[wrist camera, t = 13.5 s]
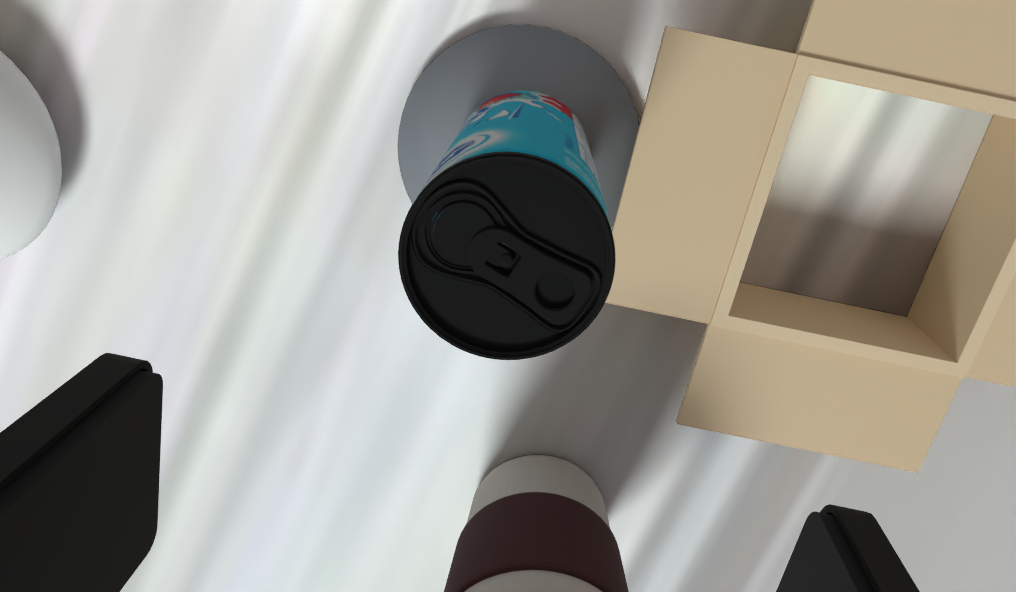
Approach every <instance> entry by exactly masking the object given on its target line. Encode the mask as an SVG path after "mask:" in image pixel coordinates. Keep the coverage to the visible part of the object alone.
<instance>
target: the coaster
mask: <svg viewBox="0 0 1016 592" xmlns="http://www.w3.org/2000/svg"><path fill="white" fill-rule="evenodd" d="M520 90H526V91H534V92H540V93H542V94H545V95H548V96H551V97H553V98H555V99H556V100H558V101H559V102H561V103H562V104H564V105H565V106H566V107H567V108H568V109H569V110H570V111H571V112H572V113H573V114H574V115H575V116H576V117H577V119H578V120H579V122H580V124H581V125H582V127H583V129H584V131H585V134H586V137H587V140H588V143H589V148H590V152H591V155H592V159H593V162H594V166H595V169H596V173H597V176H598V180H599V183H600V187H601V191H602V195H603V198H604V202H605V206H606V210H607V214H608V218H609V222H610V227H612V226H613V224H614V221H615V217H616V213H617V209H618V205H619V201H620V198H621V194H622V190H623V186H624V182H625V179H626V175H627V171H628V167H629V163H630V159H631V156H632V152H633V148H634V144H635V140H636V136H637V133H638V129H639V121H638V116H637V113H636V110H635V107H634V104H633V101H632V99H631V97H630V95H629V93H628V91H627V89H626V87H625V85H624V83H623V82H622V80H621V79H620V78H619V76H618V75H617V73H616V72H615V70H614V69H613V68H612V67H611V66H610V65H609V64H608V63H607V62H606V60H605V59H604V58H603V57H602V56H600V55H599V54H598V53H597V52H596V51H594V50H593V49H592V48H591V47H589V46H588V45H586V44H585V43H583V42H581V41H580V40H578V39H577V38H574V37H572V36H570V35H568V34H565V33H563V32H561V31H558V30H554V29H551V28H547V27H543V26H536V25H529V24H511V25H504V26H496V27H492V28H489V29H485V30H482V31H479V32H476V33H474V34H472V35H469V36H467V37H465V38H463V39H461V40H460V41H458V42H456V43H455V44H453V45H451V46H450V47H448V48H447V49H446V50H445V51H443V52H442V53H441V54H440V55H439V56H437V57H436V58H435V59H434V60H433V61H432V62H431V64H430V65H429V66H428V67H427V68H426V69H425V70H424V71H423V73H422V74H421V76H420V77H419V79H418V80H417V81H416V83H415V85H414V87H413V89H412V91H411V92H410V94H409V96H408V99H407V101H406V104H405V107H404V110H403V113H402V117H401V122H400V126H399V135H398V159H399V165H400V171H401V176H402V179H403V182H404V185H405V189H406V191H407V194H408V196H409V198H410V200H411V202H412V204H413V203H414V201H415V200H416V198H417V197H418V195H419V194H420V192H421V191H422V189H423V187H424V186H425V184H426V183H427V181H428V179H429V178H430V176H431V175H432V173H433V172H434V170H435V168H436V167H437V165H438V164H439V162H440V161H441V159H442V158H443V156H444V155H445V153H446V152H447V150H448V149H449V147H450V146H451V144H452V143H453V141H454V140H455V138H456V137H457V135H458V134H459V132H460V131H461V129H462V127H463V125H464V124H465V122H466V121H467V119H468V118H469V116H470V115H471V114H472V113H473V112H474V111H475V110H476V109H477V108H478V107H479V106H480V105H481V104H482V103H484V102H486V101H487V100H489V99H491V98H493V97H494V96H497V95H500V94H503V93H506V92H510V91H520Z"/></svg>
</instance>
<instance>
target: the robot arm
mask: <svg viewBox="0 0 1016 592" xmlns="http://www.w3.org/2000/svg"><path fill="white" fill-rule="evenodd" d="M162 395H163V380H162V377H161V375H160V374H157V373H153V370H152V367H151V364H150V363H149V362H148V361H145V360H140V359H135V358H131V357H126V356H121V355H116V354H111V353H105V354H103V355H101V356H100V357H98V358H97V359H96V360H94V361H93V362H92V363H91V364H89V365H88V366H87V367H85V368H84V369H83V370H81V371H80V372H79V373H78V374H76V375H75V376H74V377H72V378H71V379H70V380H68V381H67V382H66V383H64V384H63V385H62V386H61V387H59V388H58V389H57V390H55V391H54V392H53V393H51V394H50V395H49V396H48V397H46V398H45V399H44V400H42V401H41V402H40V403H38V404H37V405H36V406H35V407H33V408H32V409H31V410H29V411H28V412H27V413H25V414H24V415H23V416H22V417H20V418H19V419H18V420H16V421H15V422H14V423H12V424H11V425H10V426H9V427H7V428H6V429H5V430H3V431H2V432H1V433H0V592H120V590H121V589H122V588H123V586H124V585H125V584H126V582H127V581H128V580H129V578H130V577H131V576H132V574H133V573H134V572H135V570H136V569H137V568H138V566H139V565H140V564H141V562H142V561H143V560H144V558H145V557H146V556H147V554H148V552H149V551H150V549H151V547H152V545H153V542H154V539H155V536H156V532H157V520H158V495H159V470H160V445H161V420H162ZM776 592H919V590H918V588H917V587H916V585H915V583H914V582H913V580H912V578H911V577H910V575H909V573H908V572H907V570H906V569H905V567H904V565H903V564H902V562H901V560H900V559H899V557H898V555H897V554H896V552H895V550H894V549H893V547H892V545H891V544H890V542H889V540H888V539H887V537H886V535H885V534H884V532H883V530H882V529H881V527H880V525H879V524H878V522H877V520H876V519H875V518H874V516H873V515H872V514H870V513H868V512H864V511H859V510H854V509H850V508H845V507H840V506H835V505H831V504H830V505H827V506H825V507H824V508H823V509H822V510H821V512H820V513H819V512H812V513H811V514H810V515H809V516H808V518H807V519H806V522H805V524H804V526H803V529H802V531H801V534H800V536H799V538H798V541H797V543H796V545H795V548H794V550H793V553H792V555H791V557H790V560H789V562H788V565H787V567H786V569H785V572H784V574H783V577H782V579H781V581H780V584H779V586H778V589H777V591H776Z"/></svg>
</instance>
